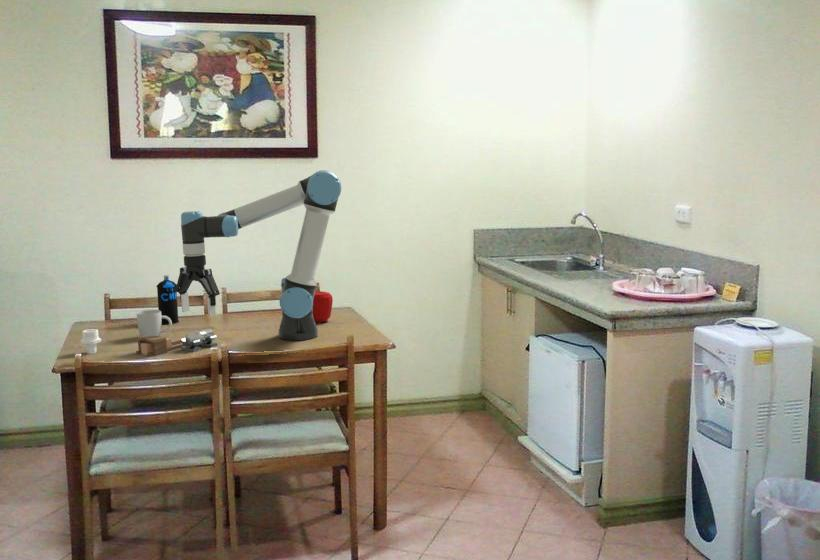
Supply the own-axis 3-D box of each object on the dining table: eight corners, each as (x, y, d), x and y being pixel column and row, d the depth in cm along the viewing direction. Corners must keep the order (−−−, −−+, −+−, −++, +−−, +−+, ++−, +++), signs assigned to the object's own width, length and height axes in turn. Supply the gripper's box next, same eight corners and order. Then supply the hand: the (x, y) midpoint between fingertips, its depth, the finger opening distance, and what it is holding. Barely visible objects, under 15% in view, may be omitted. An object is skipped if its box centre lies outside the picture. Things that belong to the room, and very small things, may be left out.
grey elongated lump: (205, 336, 289) (207, 326, 287) (212, 341, 287) (214, 331, 286) (184, 341, 280) (186, 331, 279) (191, 346, 279) (193, 336, 277)
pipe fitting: (99, 354, 274) (98, 332, 273) (78, 355, 273) (76, 332, 272) (104, 350, 280) (103, 328, 279) (84, 350, 280) (82, 328, 278)
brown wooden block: (172, 349, 281) (171, 338, 281) (147, 355, 273) (146, 344, 272) (166, 348, 283) (165, 337, 283) (141, 354, 275) (140, 343, 274)
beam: (197, 344, 288) (196, 330, 287) (150, 356, 271) (150, 341, 270) (180, 341, 293) (179, 327, 292) (133, 353, 275) (133, 338, 274)
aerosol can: (155, 322, 327) (152, 275, 324) (174, 319, 332) (171, 273, 329) (163, 325, 321) (160, 277, 318) (182, 322, 326) (179, 275, 323)
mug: (138, 341, 294) (136, 315, 292) (138, 336, 302) (136, 310, 301) (173, 338, 298) (171, 312, 296) (172, 333, 306) (170, 308, 305)
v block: (217, 345, 286) (217, 335, 285) (194, 352, 277) (193, 341, 276) (203, 343, 290) (203, 332, 289) (180, 349, 280) (179, 338, 280)
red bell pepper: (337, 321, 327) (337, 289, 325) (317, 324, 320) (316, 292, 318) (323, 317, 335) (323, 286, 333) (303, 320, 328) (302, 289, 326)
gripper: (227, 255, 274) (231, 314, 278) (178, 252, 288) (183, 308, 291) (211, 257, 268) (215, 318, 271) (162, 254, 281) (167, 312, 285)
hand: (198, 313), depth 281 cm, fingers open, 13 cm apart
